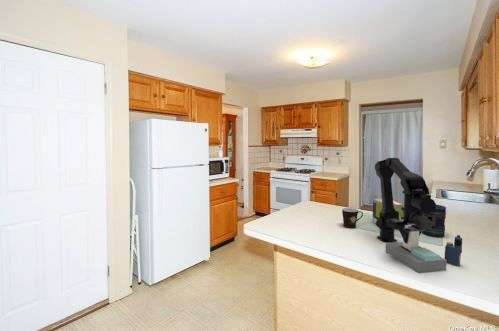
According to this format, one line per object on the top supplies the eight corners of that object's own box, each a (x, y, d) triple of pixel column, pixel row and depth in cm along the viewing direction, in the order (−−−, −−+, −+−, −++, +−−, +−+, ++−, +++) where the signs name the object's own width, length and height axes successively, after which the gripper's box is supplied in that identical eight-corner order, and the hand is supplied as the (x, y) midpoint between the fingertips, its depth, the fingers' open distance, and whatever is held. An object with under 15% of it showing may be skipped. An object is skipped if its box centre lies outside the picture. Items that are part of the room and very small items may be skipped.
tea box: (402, 230, 138) (403, 204, 137) (384, 230, 138) (385, 204, 137) (388, 221, 153) (389, 197, 152) (371, 222, 153) (372, 198, 152)
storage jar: (449, 238, 126) (450, 209, 125) (427, 237, 128) (428, 208, 127) (438, 231, 136) (439, 204, 134) (418, 230, 138) (419, 203, 136)
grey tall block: (410, 250, 103) (411, 230, 102) (402, 246, 107) (403, 226, 107) (418, 249, 103) (419, 229, 103) (410, 245, 108) (410, 226, 107)
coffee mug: (342, 228, 143) (342, 211, 142) (341, 223, 151) (341, 207, 150) (364, 230, 139) (364, 212, 138) (362, 225, 148) (362, 208, 147)
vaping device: (459, 267, 98) (461, 237, 97) (443, 262, 102) (445, 233, 101) (461, 265, 99) (463, 235, 98) (445, 260, 104) (447, 231, 102)
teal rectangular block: (410, 253, 101) (411, 248, 101) (424, 252, 102) (424, 247, 102) (425, 261, 94) (425, 256, 94) (439, 260, 95) (439, 255, 95)
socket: (385, 252, 112) (385, 243, 112) (409, 250, 114) (410, 241, 113) (417, 272, 94) (418, 262, 94) (446, 270, 96) (446, 260, 95)
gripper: (406, 213, 95) (404, 253, 96) (449, 210, 97) (447, 249, 99) (386, 205, 106) (384, 241, 107) (426, 203, 108) (424, 238, 110)
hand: (410, 242), depth 105 cm, fingers closed on grey tall block, 4 cm apart
